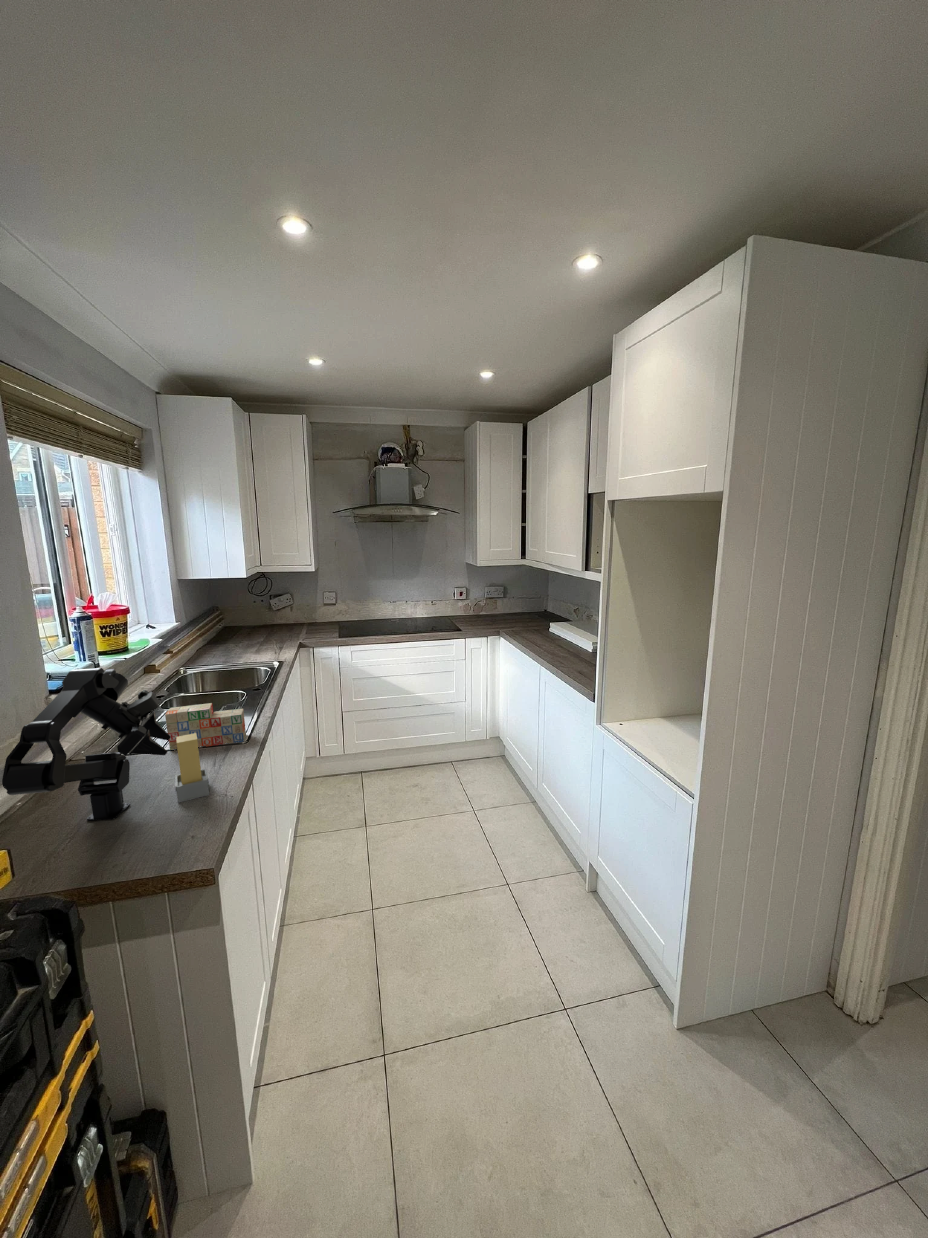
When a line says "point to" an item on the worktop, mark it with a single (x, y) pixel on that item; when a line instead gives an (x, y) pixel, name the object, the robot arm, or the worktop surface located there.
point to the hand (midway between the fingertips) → (168, 745)
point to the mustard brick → (189, 758)
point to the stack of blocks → (205, 725)
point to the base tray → (192, 788)
